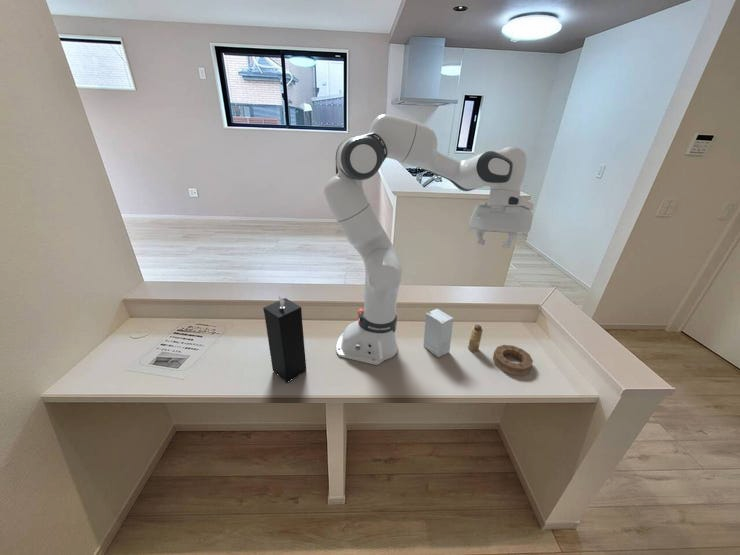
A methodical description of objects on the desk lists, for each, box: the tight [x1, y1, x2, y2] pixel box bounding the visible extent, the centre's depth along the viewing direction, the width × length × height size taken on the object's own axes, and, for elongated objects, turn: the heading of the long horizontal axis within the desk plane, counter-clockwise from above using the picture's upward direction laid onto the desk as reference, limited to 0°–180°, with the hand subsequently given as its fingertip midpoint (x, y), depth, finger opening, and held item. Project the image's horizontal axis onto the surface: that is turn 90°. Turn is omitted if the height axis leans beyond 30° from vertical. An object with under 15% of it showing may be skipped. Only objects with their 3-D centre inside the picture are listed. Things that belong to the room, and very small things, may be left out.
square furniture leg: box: [262, 295, 307, 383], centre depth 96 cm, size 8×8×28 cm
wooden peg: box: [467, 324, 484, 353], centre depth 113 cm, size 4×4×10 cm
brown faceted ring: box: [492, 344, 534, 376], centre depth 108 cm, size 12×12×3 cm
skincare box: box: [423, 308, 454, 358], centre depth 111 cm, size 8×6×15 cm
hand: (492, 246), depth 99 cm, fingers open, 8 cm apart
